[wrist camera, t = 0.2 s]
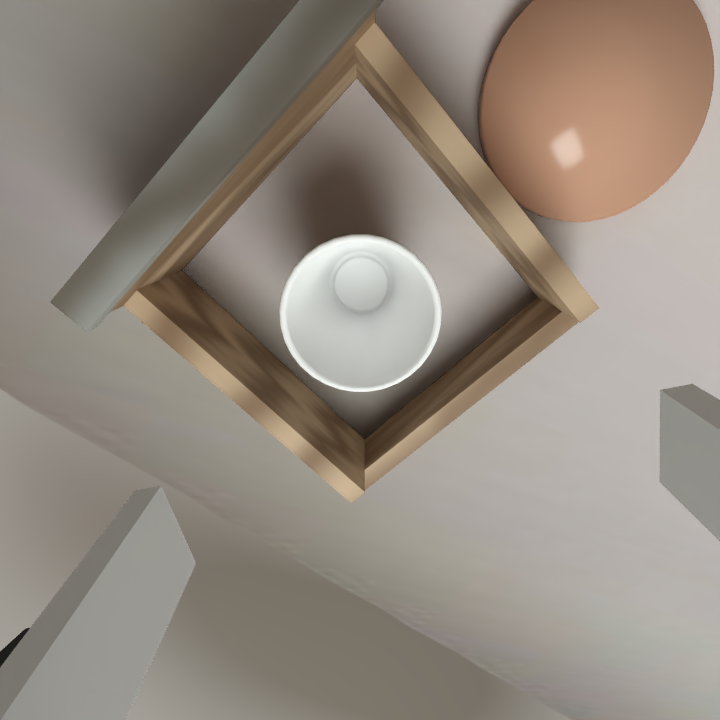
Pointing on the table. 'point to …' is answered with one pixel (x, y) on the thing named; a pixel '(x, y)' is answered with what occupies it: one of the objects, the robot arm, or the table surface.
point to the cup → (360, 312)
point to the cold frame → (241, 178)
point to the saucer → (595, 103)
